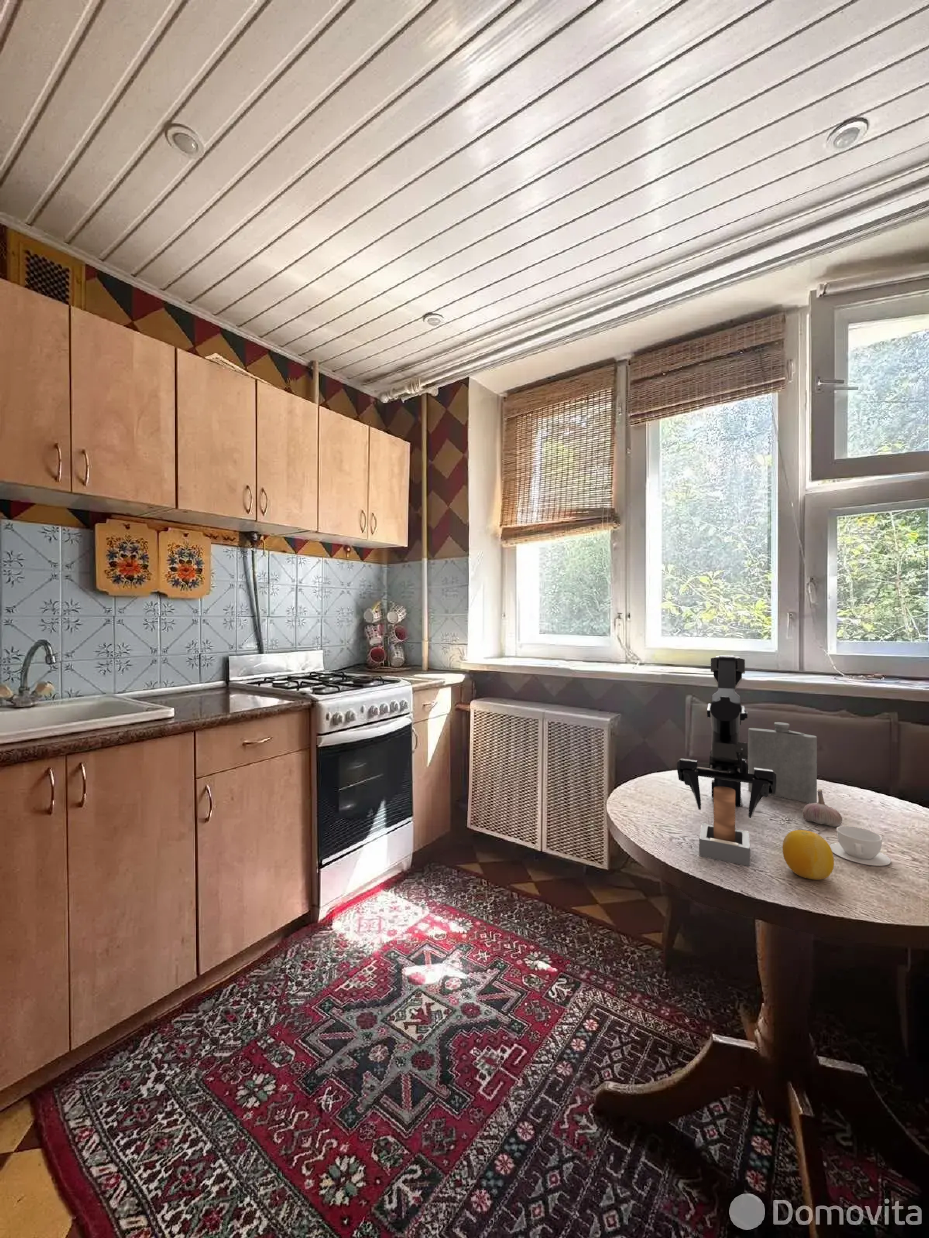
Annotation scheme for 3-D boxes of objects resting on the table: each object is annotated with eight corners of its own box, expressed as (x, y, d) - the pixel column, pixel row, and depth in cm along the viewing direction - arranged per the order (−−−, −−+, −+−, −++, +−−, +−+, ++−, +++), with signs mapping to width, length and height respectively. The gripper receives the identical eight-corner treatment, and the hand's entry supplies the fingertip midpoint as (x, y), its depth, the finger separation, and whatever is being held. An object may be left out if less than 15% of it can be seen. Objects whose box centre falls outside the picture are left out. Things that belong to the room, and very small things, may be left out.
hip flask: (747, 791, 140) (747, 720, 140) (750, 787, 143) (750, 718, 143) (816, 804, 129) (816, 728, 130) (817, 800, 133) (817, 725, 133)
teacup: (830, 840, 109) (830, 819, 109) (890, 854, 102) (890, 831, 102) (827, 857, 101) (827, 834, 101) (891, 873, 95) (891, 848, 95)
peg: (730, 847, 105) (730, 786, 105) (738, 856, 101) (738, 793, 101) (710, 846, 105) (710, 785, 105) (717, 855, 101) (718, 792, 101)
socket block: (748, 847, 105) (748, 830, 105) (749, 866, 97) (749, 847, 97) (701, 838, 109) (701, 821, 109) (699, 855, 101) (699, 837, 101)
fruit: (845, 889, 89) (845, 845, 89) (796, 885, 90) (795, 841, 90) (818, 865, 97) (818, 824, 97) (773, 862, 99) (773, 822, 99)
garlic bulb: (795, 819, 120) (795, 786, 120) (816, 815, 123) (816, 783, 123) (828, 831, 113) (828, 797, 113) (849, 827, 116) (849, 793, 116)
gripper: (677, 722, 111) (672, 785, 101) (775, 731, 102) (779, 802, 92) (681, 749, 118) (676, 811, 108) (773, 760, 109) (776, 828, 99)
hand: (724, 812), depth 102 cm, fingers open, 9 cm apart
